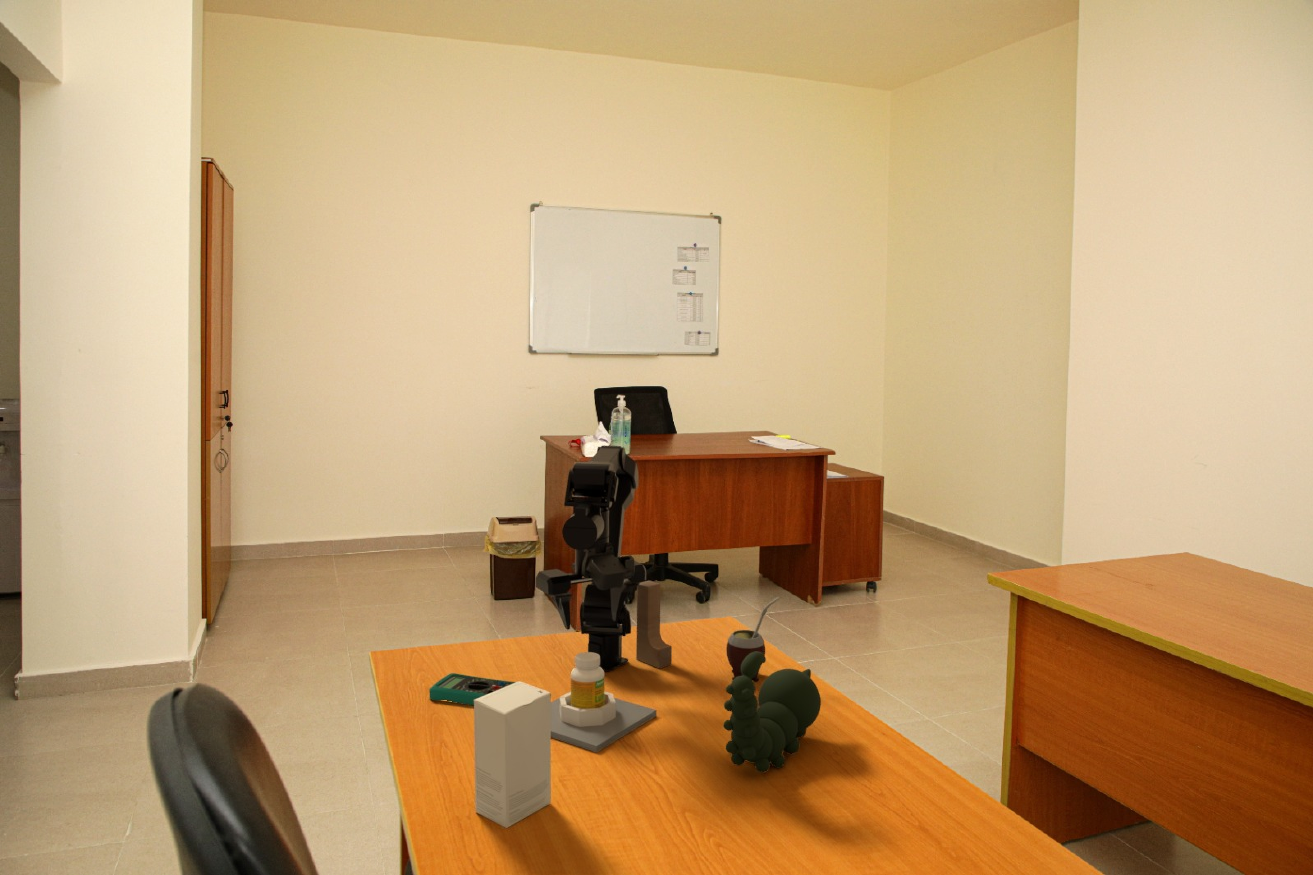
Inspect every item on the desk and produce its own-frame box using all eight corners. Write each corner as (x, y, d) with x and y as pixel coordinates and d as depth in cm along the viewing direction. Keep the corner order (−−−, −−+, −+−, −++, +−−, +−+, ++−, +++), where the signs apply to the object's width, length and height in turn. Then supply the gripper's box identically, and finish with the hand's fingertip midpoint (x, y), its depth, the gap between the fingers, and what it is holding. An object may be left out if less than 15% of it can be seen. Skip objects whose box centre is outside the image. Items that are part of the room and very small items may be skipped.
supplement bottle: (599, 723, 143) (599, 663, 142) (566, 719, 144) (566, 660, 143) (608, 709, 148) (608, 651, 147) (576, 706, 149) (576, 649, 148)
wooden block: (635, 659, 174) (636, 583, 172) (648, 655, 176) (649, 580, 174) (659, 669, 169) (660, 590, 167) (671, 664, 171) (673, 587, 169)
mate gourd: (717, 675, 166) (719, 595, 164) (747, 665, 171) (749, 588, 169) (748, 688, 160) (750, 605, 159) (777, 677, 166) (779, 597, 164)
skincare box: (520, 788, 124) (520, 678, 122) (554, 805, 120) (554, 691, 118) (472, 813, 117) (471, 697, 116) (506, 831, 113) (505, 711, 112)
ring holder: (579, 693, 157) (579, 673, 157) (656, 715, 148) (656, 695, 148) (516, 725, 144) (516, 704, 143) (596, 752, 135) (596, 730, 134)
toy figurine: (769, 805, 124) (837, 724, 144) (767, 676, 120) (837, 612, 141) (708, 786, 129) (783, 710, 149) (705, 661, 125) (781, 602, 146)
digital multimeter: (506, 714, 149) (506, 696, 149) (427, 702, 154) (427, 685, 153) (526, 697, 156) (526, 681, 156) (449, 686, 160) (449, 670, 160)
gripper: (562, 552, 143) (562, 648, 145) (663, 539, 153) (662, 629, 155) (534, 538, 153) (534, 628, 154) (630, 527, 162) (629, 611, 164)
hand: (591, 624), depth 157 cm, fingers open, 9 cm apart
